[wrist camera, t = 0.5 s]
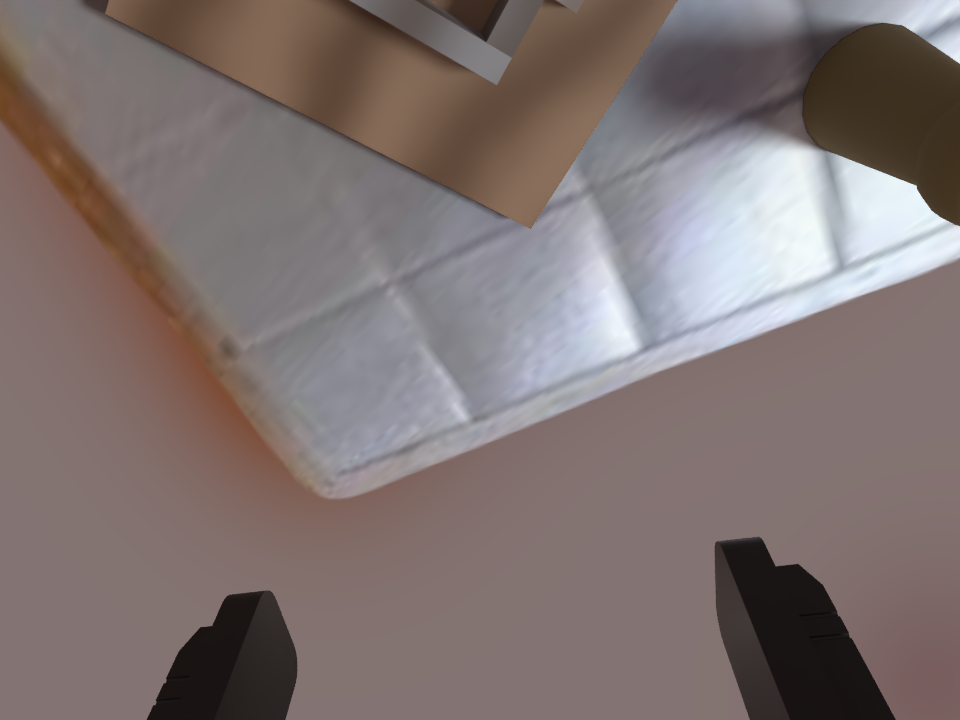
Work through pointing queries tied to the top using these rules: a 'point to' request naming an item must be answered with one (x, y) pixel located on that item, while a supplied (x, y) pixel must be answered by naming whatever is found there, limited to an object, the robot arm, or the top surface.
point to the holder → (429, 76)
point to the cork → (891, 110)
